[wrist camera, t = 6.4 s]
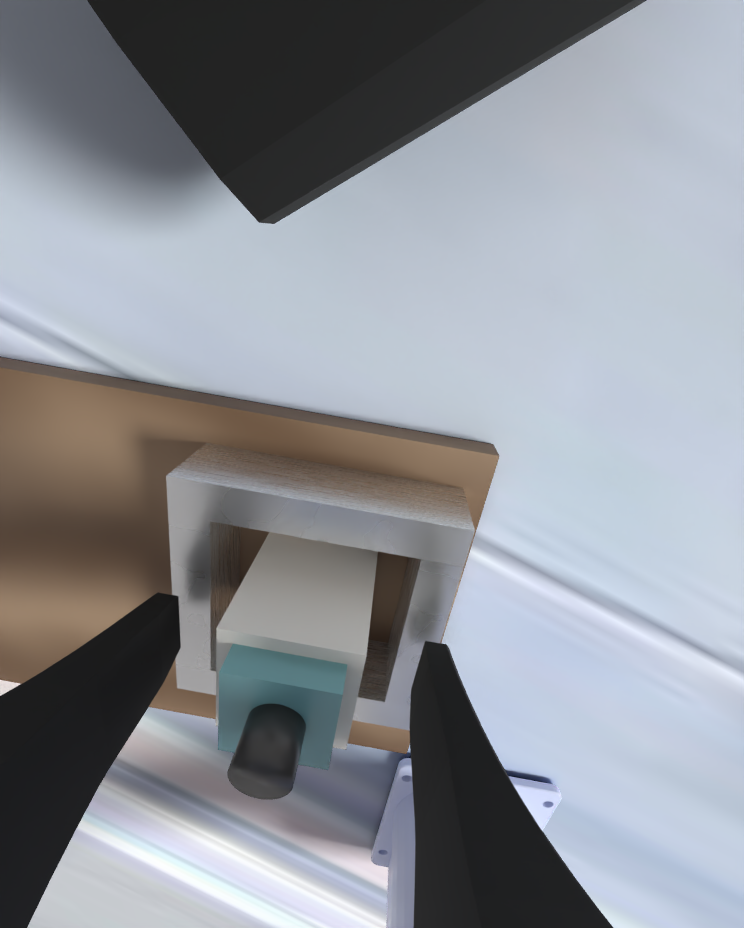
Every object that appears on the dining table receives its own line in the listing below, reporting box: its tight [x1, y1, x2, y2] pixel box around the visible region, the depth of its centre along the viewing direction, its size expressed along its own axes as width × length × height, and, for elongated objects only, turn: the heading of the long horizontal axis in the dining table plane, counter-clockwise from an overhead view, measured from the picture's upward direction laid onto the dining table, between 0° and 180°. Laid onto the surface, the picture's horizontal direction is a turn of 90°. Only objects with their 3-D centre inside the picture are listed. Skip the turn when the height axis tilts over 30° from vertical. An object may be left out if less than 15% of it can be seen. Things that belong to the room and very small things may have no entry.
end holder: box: [166, 443, 475, 731], centre depth 14 cm, size 8×8×2 cm
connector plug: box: [216, 532, 378, 799], centre depth 12 cm, size 4×4×7 cm
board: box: [0, 357, 499, 754], centre depth 16 cm, size 15×20×1 cm
